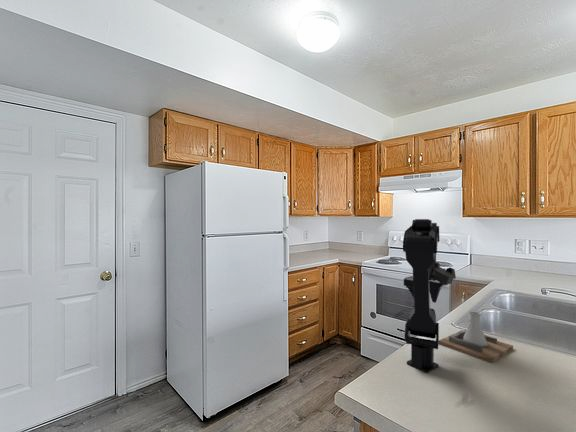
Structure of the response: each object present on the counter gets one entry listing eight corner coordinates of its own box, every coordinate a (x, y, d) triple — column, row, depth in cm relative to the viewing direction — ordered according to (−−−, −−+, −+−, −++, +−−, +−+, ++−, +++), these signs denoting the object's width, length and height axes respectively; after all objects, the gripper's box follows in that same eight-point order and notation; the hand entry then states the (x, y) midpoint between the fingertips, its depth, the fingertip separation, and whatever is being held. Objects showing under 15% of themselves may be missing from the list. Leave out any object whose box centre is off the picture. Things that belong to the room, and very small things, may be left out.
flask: (492, 348, 96) (492, 316, 96) (468, 346, 97) (468, 315, 97) (481, 339, 103) (481, 309, 103) (459, 337, 104) (458, 309, 104)
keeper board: (491, 362, 89) (491, 353, 89) (438, 344, 102) (438, 336, 102) (513, 349, 98) (513, 340, 98) (461, 333, 111) (461, 326, 111)
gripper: (434, 264, 92) (435, 316, 92) (464, 259, 102) (464, 305, 102) (402, 260, 101) (402, 307, 101) (432, 256, 111) (433, 298, 111)
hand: (426, 304), depth 103 cm, fingers open, 9 cm apart
